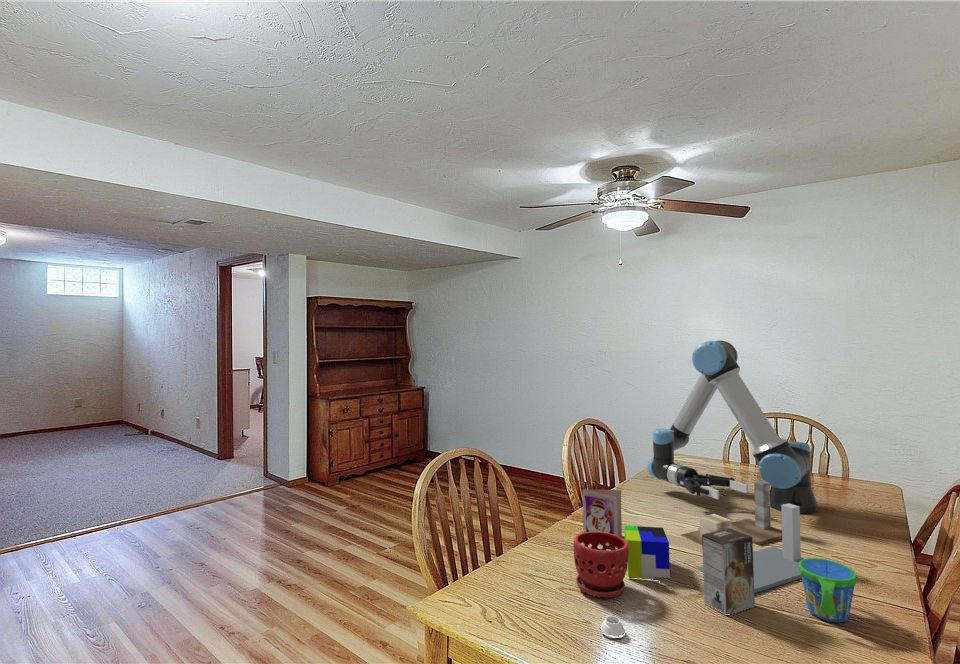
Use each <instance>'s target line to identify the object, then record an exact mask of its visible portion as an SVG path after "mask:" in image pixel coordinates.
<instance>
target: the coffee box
mask: <svg viewBox="0 0 960 664" xmlns="http://www.w3.org/2000/svg"><path fill="white" fill-rule="evenodd" d="M753 544H754V543H753V542H752V536H749V535H746V534H744V533H741V532H739V531H736V530H733V529H730V528H727V529H723V530H719V531H715V532H711V533H706V534H702V545H701V547H702V566H703V572H702V573H703V574H702V575H703V601H704V602H705V603H707V604H708V605H710V606H712V607H713V608H716V609H717V610H719V611H721V612H722V613H724V614H732V613H735V612H738V613H740V612H739V611H741V612H743V611H742V610H744V611H747V610H749V608H750V609H752V608H753V609H754V608H756V604H755V603H756V602H755V593H754V570H753V552H754V549H753V548H754V547H753ZM704 602H703V603H704ZM705 603H704V604H705ZM708 605H707V606H708ZM713 608H712V609H713ZM746 609H747V610H746ZM735 614H736V613H735ZM732 615H733V614H732Z"/></svg>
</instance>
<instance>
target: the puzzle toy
mask: <svg viewBox="0 0 960 664" xmlns="http://www.w3.org/2000/svg"><path fill="white" fill-rule="evenodd" d="M624 539H625V540H626V541H627V542H628V545H629V556H628V565H627V571H626V573H627V572H628V574H627V578H628V577H629V578H642V579H651V580H652V579H653V580H659V579H658V578H664V579H671V572H670V571H671V570H670V569H671V567H670V566H671V565H670V562H671V561H670V542H669V539H668V537H667V534H666V532H665V530H664V527H657V526H643V525H642V526H641V525H640V526H639V525H638V526H637V525H624Z"/></svg>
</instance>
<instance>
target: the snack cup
mask: <svg viewBox="0 0 960 664" xmlns="http://www.w3.org/2000/svg"><path fill="white" fill-rule="evenodd" d="M799 571H800V573H801V575H802V578H801V581H802V585H803V592H804V597H805V604H806V607H807V609H808V611H809V612H810V614H811V615H813V616H816V617H817V618H819V619H821V620H824V621H827V622H831V623H832V622H833V623H843V622H844V623H846V622H848V620H849V618H850V614H851V609H852V603H853V599H854V598H853V597H854V590H855V585H856V584H857V582H858V576H857V573H856V572H855V570H854V569H852V568H851V567H849V566H848V565H845V564H843V563H841V562H838V561H834V560H830V559H825V558H819V557H818V558H816V557H809V558H807V557H806V558H804V559H803V560H801V561H800V562H799Z"/></svg>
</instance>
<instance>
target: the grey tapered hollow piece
mask: <svg viewBox="0 0 960 664" xmlns="http://www.w3.org/2000/svg"><path fill="white" fill-rule="evenodd" d="M613 623H615V624H613ZM622 623H623V622H621V620H620V618H619V617H618V616H613V615H609V616H606V617H605V618H604V621H603V622H602V624H601V626H600V629H601V630H602V631H603V632H604V633H606V634H608V635H613V636H619V635H623V634H624V633H625V631H626V630H625V629H626V628H625V627H624V625H623V624H622Z"/></svg>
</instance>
